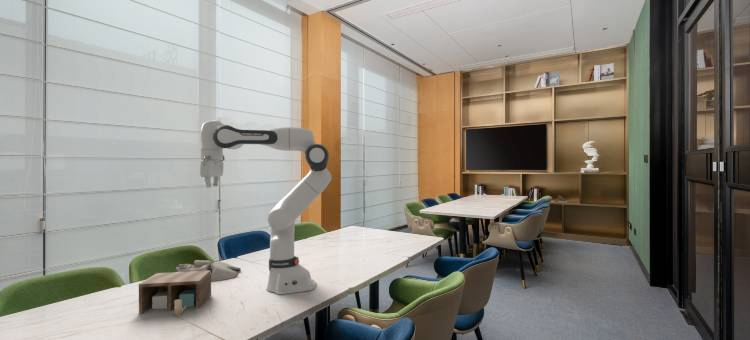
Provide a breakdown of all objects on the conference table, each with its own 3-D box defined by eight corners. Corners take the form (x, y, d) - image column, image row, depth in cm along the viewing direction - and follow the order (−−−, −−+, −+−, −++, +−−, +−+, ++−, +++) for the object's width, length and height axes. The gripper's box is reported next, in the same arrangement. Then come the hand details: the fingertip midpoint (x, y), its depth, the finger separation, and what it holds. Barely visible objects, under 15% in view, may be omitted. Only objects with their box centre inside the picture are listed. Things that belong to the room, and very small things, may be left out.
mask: (183, 256, 179) (242, 253, 186) (183, 273, 179) (242, 269, 186) (170, 266, 160) (236, 263, 167) (170, 285, 160) (236, 280, 167)
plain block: (173, 302, 139) (173, 290, 139) (167, 308, 133) (167, 295, 133) (159, 303, 138) (158, 291, 138) (152, 309, 133) (152, 296, 132)
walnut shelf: (211, 295, 146) (210, 270, 146) (199, 308, 132) (199, 280, 132) (156, 299, 143) (156, 273, 143) (138, 312, 129) (138, 284, 129)
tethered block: (198, 300, 140) (198, 287, 140) (184, 315, 126) (184, 300, 126) (184, 301, 139) (184, 288, 140) (169, 316, 125) (168, 301, 125)
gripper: (211, 155, 141) (212, 187, 141) (225, 157, 161) (225, 185, 161) (195, 155, 140) (196, 188, 140) (211, 157, 160) (212, 185, 160)
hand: (212, 186), depth 151 cm, fingers open, 8 cm apart
